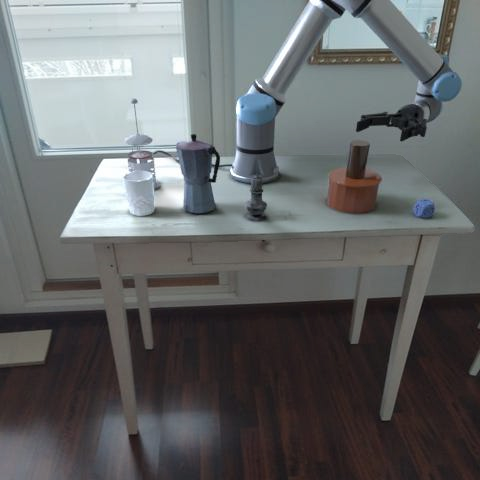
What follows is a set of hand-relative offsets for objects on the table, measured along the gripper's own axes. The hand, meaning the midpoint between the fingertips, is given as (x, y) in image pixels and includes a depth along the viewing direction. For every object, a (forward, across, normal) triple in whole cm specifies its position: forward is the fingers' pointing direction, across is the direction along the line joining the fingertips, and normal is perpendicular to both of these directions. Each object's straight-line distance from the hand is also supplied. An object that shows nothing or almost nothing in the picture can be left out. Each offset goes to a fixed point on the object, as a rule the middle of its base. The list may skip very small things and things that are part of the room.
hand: (379, 131), depth 134 cm
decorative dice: (+4, -19, -18) cm, 27 cm away
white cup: (+53, +41, -18) cm, 70 cm away
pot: (+10, 0, -18) cm, 21 cm away
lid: (+10, 0, -10) cm, 15 cm away
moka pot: (+42, +30, -18) cm, 54 cm away
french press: (+40, +56, -18) cm, 71 cm away
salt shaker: (+36, +15, -18) cm, 43 cm away
